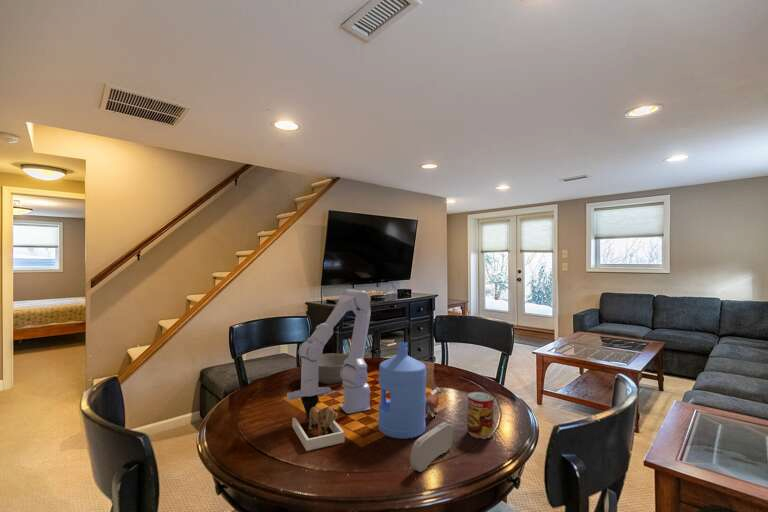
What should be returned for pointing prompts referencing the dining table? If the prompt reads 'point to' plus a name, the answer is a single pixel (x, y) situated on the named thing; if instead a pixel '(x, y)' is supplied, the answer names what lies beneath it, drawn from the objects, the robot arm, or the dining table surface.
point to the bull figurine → (432, 401)
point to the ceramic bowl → (331, 368)
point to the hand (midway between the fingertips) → (308, 418)
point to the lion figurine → (321, 418)
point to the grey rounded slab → (431, 446)
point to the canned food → (480, 413)
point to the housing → (321, 440)
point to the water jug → (402, 395)
